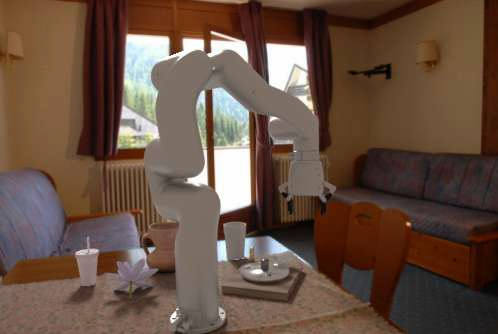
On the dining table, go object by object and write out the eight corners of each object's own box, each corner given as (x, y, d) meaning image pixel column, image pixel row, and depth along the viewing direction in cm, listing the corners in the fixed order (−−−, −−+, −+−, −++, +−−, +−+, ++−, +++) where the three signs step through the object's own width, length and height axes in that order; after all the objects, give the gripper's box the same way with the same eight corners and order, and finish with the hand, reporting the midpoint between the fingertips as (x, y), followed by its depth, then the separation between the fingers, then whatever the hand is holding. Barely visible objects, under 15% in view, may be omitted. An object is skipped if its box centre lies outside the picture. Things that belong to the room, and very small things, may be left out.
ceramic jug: (202, 262, 125) (200, 221, 124) (183, 277, 111) (182, 231, 110) (154, 258, 130) (152, 219, 129) (131, 273, 116) (129, 228, 115)
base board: (287, 300, 94) (286, 293, 93) (221, 292, 99) (221, 285, 99) (302, 271, 114) (302, 265, 114) (247, 266, 120) (247, 260, 120)
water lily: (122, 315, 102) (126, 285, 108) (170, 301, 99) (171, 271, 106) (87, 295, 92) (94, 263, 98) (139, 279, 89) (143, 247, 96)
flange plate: (264, 287, 97) (263, 271, 97) (231, 274, 107) (230, 259, 107) (308, 271, 109) (308, 256, 108) (274, 260, 119) (274, 246, 119)
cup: (246, 261, 125) (245, 226, 124) (223, 261, 125) (222, 227, 124) (247, 254, 133) (246, 221, 132) (225, 254, 133) (224, 222, 132)
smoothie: (91, 289, 104) (89, 240, 103) (71, 287, 105) (69, 239, 104) (104, 280, 110) (102, 234, 109) (85, 279, 111) (83, 233, 110)
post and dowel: (270, 275, 106) (270, 256, 106) (263, 276, 105) (262, 257, 105) (253, 263, 117) (253, 246, 116) (246, 264, 116) (246, 247, 115)
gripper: (274, 157, 108) (275, 215, 109) (334, 157, 103) (335, 218, 104) (280, 156, 115) (281, 210, 117) (337, 155, 110) (337, 212, 111)
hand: (306, 214), depth 110 cm, fingers open, 9 cm apart
